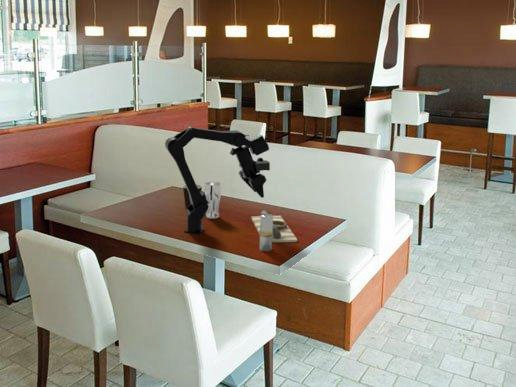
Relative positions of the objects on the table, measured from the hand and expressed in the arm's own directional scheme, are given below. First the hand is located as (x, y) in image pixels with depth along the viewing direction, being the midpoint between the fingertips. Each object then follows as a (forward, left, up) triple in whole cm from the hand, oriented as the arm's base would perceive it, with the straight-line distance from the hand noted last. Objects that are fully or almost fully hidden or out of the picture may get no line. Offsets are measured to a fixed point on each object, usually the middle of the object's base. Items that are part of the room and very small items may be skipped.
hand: (259, 194), depth 237 cm
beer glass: (+6, +23, -14) cm, 27 cm away
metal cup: (-25, -10, -14) cm, 30 cm away
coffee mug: (+15, +36, -14) cm, 42 cm away
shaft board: (-1, -6, -14) cm, 15 cm away
